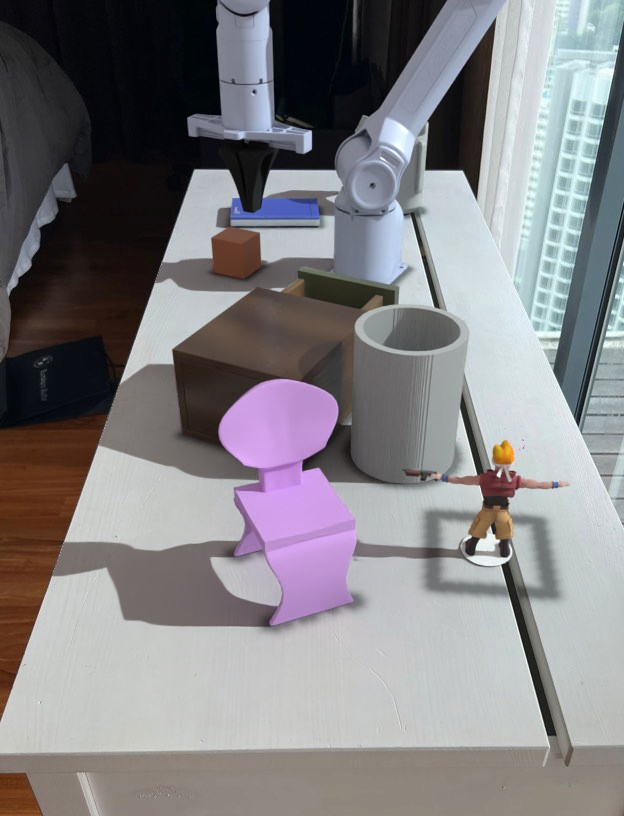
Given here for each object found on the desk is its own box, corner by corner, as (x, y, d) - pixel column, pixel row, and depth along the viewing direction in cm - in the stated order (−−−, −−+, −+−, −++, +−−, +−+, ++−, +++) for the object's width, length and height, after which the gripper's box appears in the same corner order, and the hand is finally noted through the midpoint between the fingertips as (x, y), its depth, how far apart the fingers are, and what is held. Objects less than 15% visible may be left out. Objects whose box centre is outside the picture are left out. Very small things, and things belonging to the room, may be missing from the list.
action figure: (395, 558, 64) (403, 456, 58) (396, 534, 66) (404, 433, 60) (554, 569, 63) (579, 466, 57) (550, 544, 66) (573, 443, 60)
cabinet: (260, 366, 87) (257, 286, 81) (368, 393, 83) (371, 311, 77) (181, 435, 76) (171, 349, 71) (300, 469, 73) (298, 381, 67)
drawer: (320, 311, 95) (320, 252, 90) (410, 332, 91) (415, 271, 87) (240, 381, 82) (236, 316, 78) (341, 407, 79) (342, 341, 75)
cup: (335, 437, 77) (337, 314, 69) (423, 418, 79) (434, 297, 72) (377, 493, 70) (385, 363, 63) (472, 469, 73) (490, 343, 65)
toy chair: (259, 635, 57) (247, 452, 48) (220, 557, 64) (203, 381, 54) (369, 602, 60) (379, 423, 50) (322, 531, 66) (323, 358, 57)
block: (231, 260, 108) (229, 226, 105) (261, 267, 107) (260, 232, 104) (213, 272, 105) (210, 237, 102) (244, 279, 104) (242, 243, 101)
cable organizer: (379, 190, 131) (383, 106, 123) (433, 213, 123) (441, 124, 116) (345, 199, 127) (347, 112, 120) (399, 222, 120) (405, 132, 112)
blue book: (230, 216, 116) (319, 216, 117) (232, 196, 122) (317, 196, 123) (230, 227, 117) (319, 227, 118) (232, 207, 123) (317, 207, 124)
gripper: (167, 78, 88) (180, 209, 97) (290, 94, 84) (292, 231, 93) (202, 66, 93) (212, 192, 102) (320, 81, 89) (319, 211, 98)
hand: (252, 209), depth 98 cm, fingers closed
